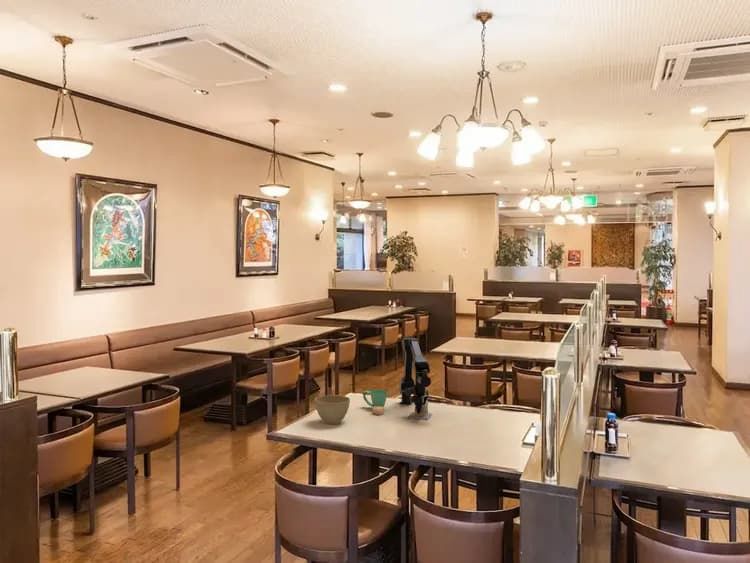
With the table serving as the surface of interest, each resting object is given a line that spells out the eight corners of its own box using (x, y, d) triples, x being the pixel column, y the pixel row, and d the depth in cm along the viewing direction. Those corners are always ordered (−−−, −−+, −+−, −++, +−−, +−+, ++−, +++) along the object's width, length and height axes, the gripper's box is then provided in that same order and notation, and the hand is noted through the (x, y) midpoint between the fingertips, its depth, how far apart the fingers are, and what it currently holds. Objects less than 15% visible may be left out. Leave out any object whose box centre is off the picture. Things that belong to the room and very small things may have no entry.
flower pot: (348, 427, 286) (348, 403, 286) (312, 426, 286) (312, 403, 286) (350, 417, 304) (351, 395, 304) (317, 417, 304) (317, 394, 304)
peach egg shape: (373, 412, 315) (373, 406, 315) (384, 412, 315) (383, 406, 315) (372, 415, 309) (372, 408, 309) (383, 415, 309) (383, 408, 309)
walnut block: (416, 413, 310) (416, 404, 310) (425, 414, 309) (425, 405, 309) (414, 416, 306) (414, 406, 306) (423, 416, 304) (423, 407, 304)
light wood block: (420, 410, 319) (420, 400, 319) (427, 410, 319) (427, 400, 319) (420, 412, 315) (420, 401, 315) (427, 412, 315) (427, 402, 315)
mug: (390, 407, 324) (390, 390, 324) (383, 412, 316) (383, 394, 315) (366, 405, 331) (367, 387, 330) (359, 409, 322) (359, 391, 321)
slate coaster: (412, 412, 314) (412, 411, 314) (432, 414, 311) (432, 413, 311) (407, 418, 304) (407, 417, 304) (428, 419, 300) (428, 418, 300)
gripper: (409, 378, 318) (409, 406, 319) (401, 385, 300) (401, 414, 301) (429, 380, 315) (429, 408, 315) (422, 387, 297) (422, 416, 297)
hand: (420, 411), depth 307 cm, fingers open, 8 cm apart
